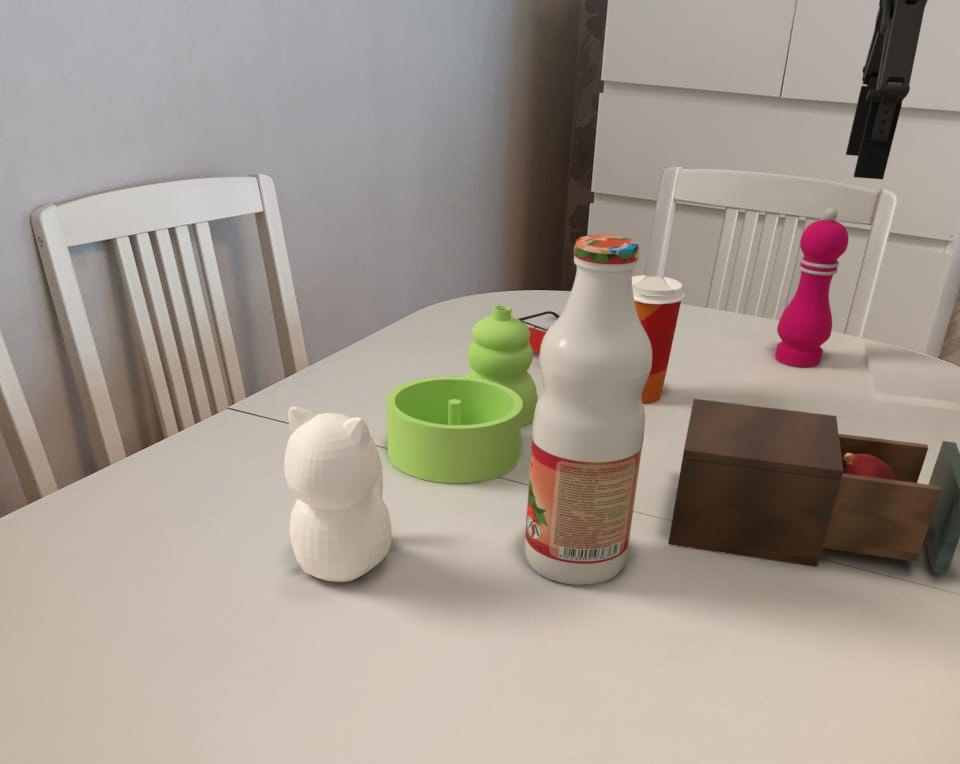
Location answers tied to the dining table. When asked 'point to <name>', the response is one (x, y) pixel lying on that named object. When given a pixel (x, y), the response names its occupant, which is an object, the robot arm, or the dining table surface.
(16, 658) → the dining table surface
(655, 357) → the paper cup
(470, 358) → the green round pieces
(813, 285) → the pepper mill
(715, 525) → the drawer cabinet
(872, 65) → the robot arm
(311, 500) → the cat figurine
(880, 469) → the onion
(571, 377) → the fruit juice
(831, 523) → the wooden drawer
